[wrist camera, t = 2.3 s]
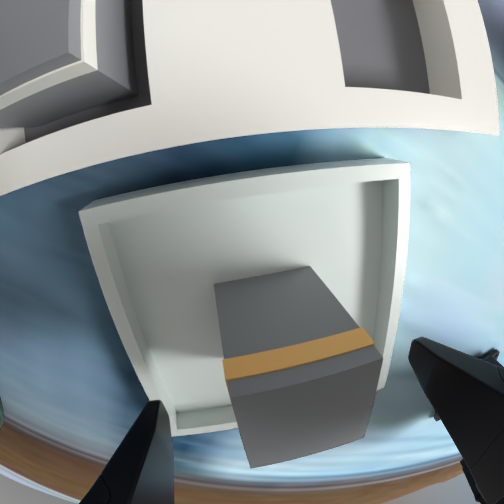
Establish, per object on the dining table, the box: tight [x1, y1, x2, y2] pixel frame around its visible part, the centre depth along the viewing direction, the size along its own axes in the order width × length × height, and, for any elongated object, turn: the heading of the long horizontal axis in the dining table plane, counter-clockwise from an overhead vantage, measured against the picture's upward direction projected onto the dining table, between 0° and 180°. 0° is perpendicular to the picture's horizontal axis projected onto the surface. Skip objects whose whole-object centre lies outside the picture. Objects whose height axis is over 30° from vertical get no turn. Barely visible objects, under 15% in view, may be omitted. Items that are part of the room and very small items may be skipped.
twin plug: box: [0, 0, 138, 128], centre depth 5 cm, size 4×4×6 cm
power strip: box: [0, 0, 500, 196], centre depth 8 cm, size 22×8×4 cm, turn 97°
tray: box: [78, 158, 410, 436], centre depth 13 cm, size 12×12×2 cm
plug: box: [214, 266, 383, 468], centre depth 10 cm, size 4×4×6 cm
